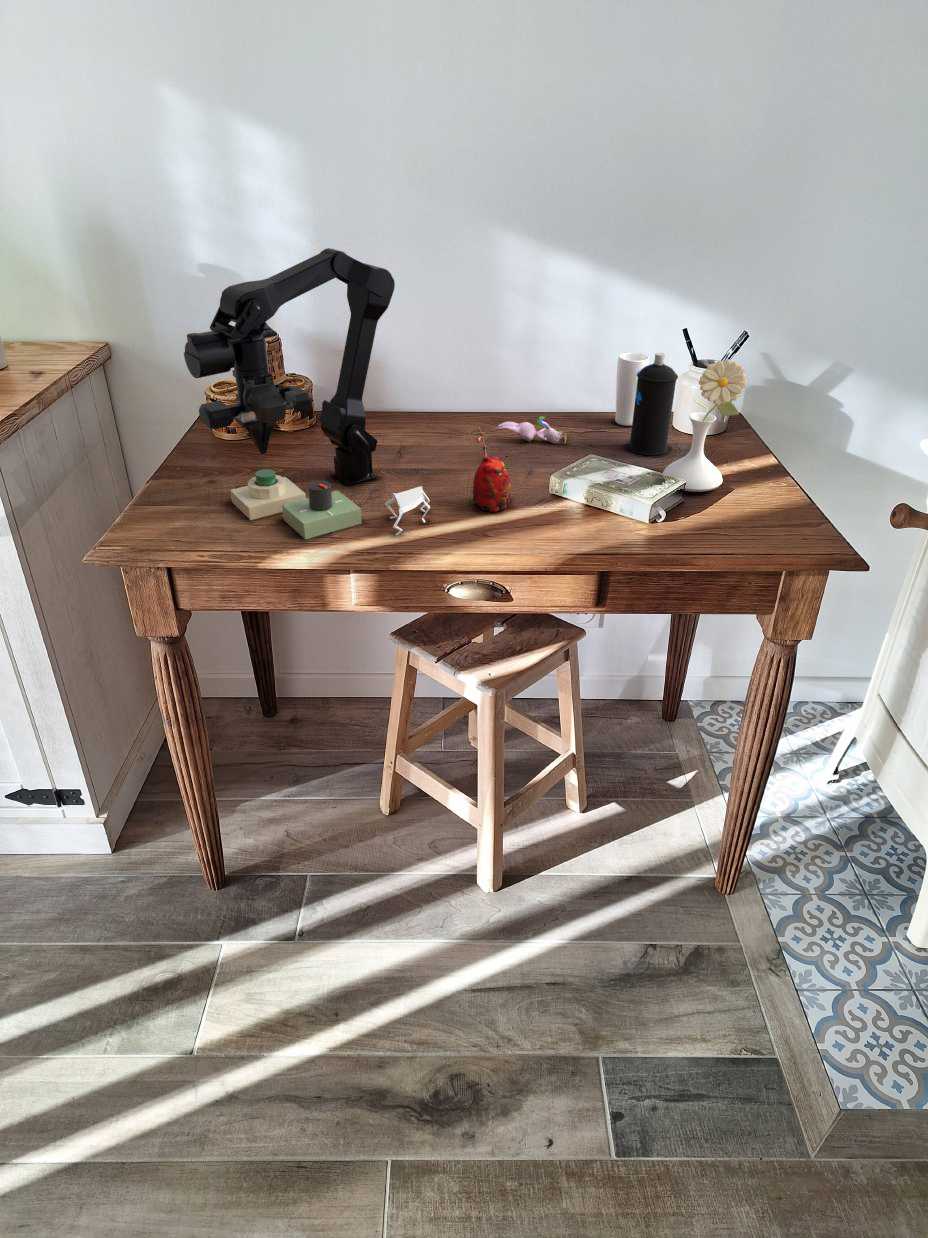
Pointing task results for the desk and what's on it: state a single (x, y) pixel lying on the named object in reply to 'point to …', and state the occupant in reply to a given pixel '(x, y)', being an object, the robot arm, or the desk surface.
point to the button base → (265, 497)
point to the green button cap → (265, 477)
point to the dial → (320, 495)
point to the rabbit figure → (534, 431)
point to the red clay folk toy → (491, 483)
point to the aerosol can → (653, 408)
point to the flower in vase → (721, 388)
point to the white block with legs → (408, 503)
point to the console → (321, 516)
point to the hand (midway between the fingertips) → (262, 453)
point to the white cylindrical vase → (627, 385)
